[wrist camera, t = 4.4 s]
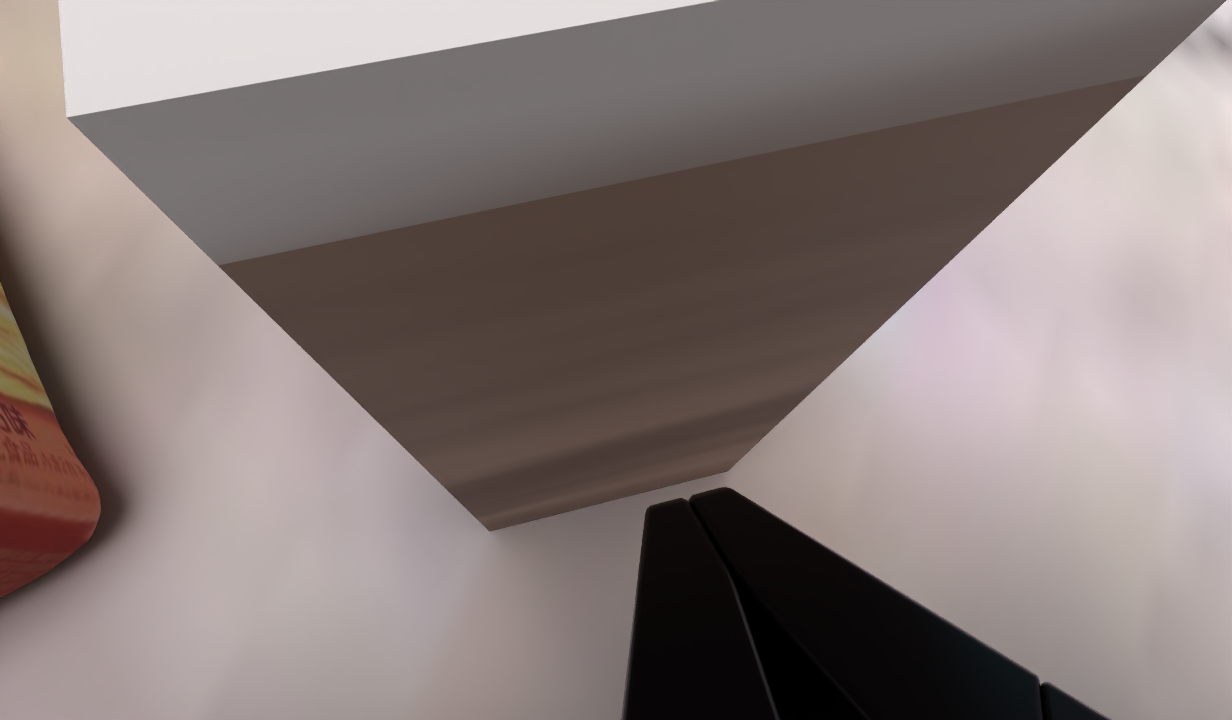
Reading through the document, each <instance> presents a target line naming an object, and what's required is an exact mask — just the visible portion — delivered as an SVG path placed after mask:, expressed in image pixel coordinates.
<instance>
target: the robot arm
mask: <svg viewBox="0 0 1232 720" xmlns="http://www.w3.org/2000/svg"><path fill="white" fill-rule="evenodd" d="M621 720H1111V719H1109V718H1107V717H1106V716H1104V715H1102V714H1100V713H1099V712H1097V711H1095V710H1094V709H1092V708H1090V707H1089V706H1087V705H1085V704H1084V703H1082V702H1081V701H1079V700H1077V699H1076V698H1074V697H1072V696H1071V695H1069V694H1067V693H1066V692H1064V691H1063V690H1061V689H1059V688H1058V687H1056V686H1054V685H1053V684H1051V683H1049V682H1044V683H1042V684H1041V686H1040V680H1039V677H1038V676H1037V675H1036V674H1034V673H1032V672H1031V671H1029V670H1027V669H1026V668H1024V667H1023V666H1021V665H1019V664H1018V663H1016V662H1014V661H1013V660H1011V659H1009V658H1008V657H1006V656H1005V655H1003V654H1001V653H1000V652H998V651H996V650H995V649H993V648H991V647H990V646H988V645H987V644H985V643H983V642H982V641H980V640H978V639H977V638H975V637H973V636H972V635H970V634H969V633H967V632H965V631H964V630H962V629H960V628H959V627H957V626H955V625H954V624H952V623H951V622H949V621H947V620H946V619H944V618H942V617H941V616H939V615H937V614H936V613H934V612H933V611H931V610H929V609H928V608H926V607H924V606H923V605H921V604H919V603H918V602H916V601H915V600H913V599H911V598H910V597H908V596H906V595H905V594H903V593H901V592H900V591H898V590H897V589H895V588H893V587H892V586H890V585H888V584H887V583H885V582H883V581H882V580H880V579H879V578H877V577H875V576H874V575H872V574H870V573H869V572H867V571H865V570H864V569H862V568H861V567H859V566H857V565H856V564H854V563H852V562H851V561H849V560H847V559H846V558H844V557H843V556H841V555H839V554H838V553H836V552H834V551H833V550H831V549H829V548H828V547H826V546H825V545H823V544H821V543H820V542H818V541H816V540H815V539H813V538H811V537H810V536H808V535H807V534H805V533H803V532H802V531H800V530H798V529H797V528H795V527H793V526H792V525H790V524H789V523H787V522H785V521H784V520H782V519H780V518H779V517H777V516H775V515H774V514H772V513H771V512H769V511H767V510H766V509H764V508H762V507H761V506H759V505H757V504H756V503H754V502H753V501H751V500H749V499H748V498H746V497H744V496H743V495H741V494H739V493H738V492H736V491H735V490H733V489H731V488H727V487H722V488H718V489H714V490H710V491H706V492H702V493H698V494H694V495H692V496H691V497H690V499H689V501H687V500H685V499H683V498H679V499H675V500H671V501H667V502H663V503H659V504H655V505H652V506H650V507H648V508H647V510H646V513H645V521H644V530H643V538H642V547H641V556H640V564H639V573H638V581H637V590H636V598H635V607H634V615H633V624H632V632H631V641H630V650H629V658H628V667H627V675H626V684H625V692H624V701H623V709H622V718H621Z"/></svg>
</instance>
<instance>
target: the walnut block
mask: <svg viewBox="0 0 1232 720" xmlns="http://www.w3.org/2000/svg"><path fill="white" fill-rule="evenodd" d="M1225 1H1226V0H58V2H59V16H60V31H61V45H62V60H63V74H64V89H65V103H66V117H67V118H68V119H69V120H70V121H71V122H72V123H73V124H74V125H75V126H76V127H77V128H78V129H79V130H80V131H81V132H82V133H83V134H84V135H85V136H86V137H87V138H88V139H89V140H90V141H91V142H92V143H93V144H94V145H95V146H96V147H97V148H98V149H99V150H100V151H101V152H102V153H103V154H104V155H105V156H106V157H107V158H109V159H110V160H111V161H112V162H113V163H114V164H115V165H116V166H117V167H118V168H119V169H120V170H121V171H122V172H123V173H124V174H125V175H126V176H127V177H128V178H129V179H130V180H131V181H132V182H133V183H134V184H135V185H136V186H137V187H138V188H139V189H140V190H141V191H142V192H143V193H144V194H145V195H146V196H147V197H148V198H149V199H150V200H151V201H152V202H153V203H155V204H156V205H157V206H158V207H159V208H160V209H161V210H162V211H163V212H164V213H165V214H166V215H167V216H168V217H169V218H170V219H171V220H172V221H173V222H174V223H175V224H176V225H177V226H178V227H179V228H180V229H181V230H182V231H183V232H184V233H185V234H186V235H187V236H188V237H189V238H190V239H191V240H192V241H193V242H194V243H195V244H196V245H197V246H198V247H199V248H200V249H202V250H203V251H204V252H205V253H206V254H207V255H208V256H209V257H210V258H211V259H212V260H213V261H214V262H215V263H216V264H217V265H218V266H219V267H220V268H221V269H222V270H223V271H224V272H225V273H226V274H227V275H228V276H229V277H230V278H231V279H232V280H233V281H234V282H235V283H236V284H237V285H238V286H239V287H240V288H241V289H242V290H243V291H244V292H245V293H246V294H247V295H249V296H250V297H251V298H252V299H253V300H254V301H255V302H256V303H257V304H258V305H259V306H260V307H261V308H262V309H263V310H264V311H265V312H266V313H267V314H268V315H269V316H270V317H271V318H272V319H273V320H274V321H275V322H276V323H277V324H278V325H279V326H280V327H281V328H282V329H283V330H284V331H285V332H286V333H287V334H288V335H289V336H290V337H291V338H292V339H293V340H294V341H296V342H297V343H298V344H299V345H300V346H301V347H302V348H303V349H304V350H305V351H306V352H307V353H308V354H309V355H310V356H311V357H312V358H313V359H314V360H315V361H316V362H317V363H318V364H319V365H320V366H321V367H322V368H323V369H324V370H325V371H326V372H327V373H328V374H329V375H330V376H331V377H332V378H333V379H334V380H335V381H336V382H337V383H338V384H339V385H340V386H342V387H343V388H344V389H345V390H346V391H347V392H348V393H349V394H350V395H351V396H352V397H353V398H354V399H355V400H356V401H357V402H358V403H359V404H360V405H361V406H362V407H363V408H364V409H365V410H366V411H367V412H368V413H369V414H370V415H371V416H372V417H373V418H374V419H375V420H376V421H377V422H378V423H379V424H380V425H381V426H382V427H383V428H384V429H385V430H386V431H387V432H389V433H390V434H391V435H392V436H393V437H394V438H395V439H396V440H397V441H398V442H399V443H400V444H401V445H402V446H403V447H404V448H405V449H406V450H407V451H408V452H409V453H410V454H411V455H412V456H413V457H414V458H415V459H416V460H417V461H418V462H419V463H420V464H421V465H422V466H423V467H424V468H425V469H426V470H427V471H428V472H429V473H430V474H431V475H432V476H433V477H434V478H436V479H437V480H438V481H439V482H440V483H441V484H442V485H443V486H444V487H445V488H446V489H447V490H448V491H449V492H450V493H451V494H452V495H453V496H454V497H455V498H456V499H457V500H458V501H459V502H460V503H461V504H462V505H463V506H464V507H465V508H466V509H467V510H468V511H469V512H470V513H471V514H472V515H473V516H474V517H475V518H476V519H477V520H478V521H479V522H480V523H481V524H483V525H484V526H485V527H486V528H487V529H488V530H489V531H493V530H497V529H501V528H505V527H509V526H513V525H516V524H520V523H524V522H528V521H532V520H536V519H540V518H544V517H548V516H552V515H556V514H560V513H564V512H568V511H572V510H576V509H580V508H583V507H587V506H591V505H595V504H599V503H603V502H607V501H611V500H615V499H619V498H623V497H627V496H631V495H635V494H639V493H643V492H646V491H650V490H654V489H658V488H662V487H666V486H670V485H674V484H678V483H682V482H686V481H690V480H694V479H698V478H702V477H706V476H710V475H713V474H717V473H721V472H725V471H728V470H729V469H730V468H732V467H733V466H734V465H735V464H736V463H737V462H738V461H739V460H740V459H741V458H742V457H743V456H744V455H745V454H746V453H747V452H748V451H750V450H751V449H752V448H753V447H754V446H755V445H756V444H757V443H758V442H759V441H760V440H761V439H762V438H763V437H764V436H765V435H766V434H768V433H769V432H770V431H771V430H772V429H773V428H774V427H775V426H776V425H777V424H778V423H779V422H780V421H781V420H782V419H783V418H784V417H786V416H787V415H788V414H789V413H790V412H791V411H792V410H793V409H794V408H795V407H796V406H797V405H798V404H799V403H800V402H801V401H802V400H804V399H805V398H806V397H807V396H808V395H809V394H810V393H811V392H812V391H813V390H814V389H815V388H816V387H817V386H818V385H819V384H820V383H822V382H823V381H824V380H825V379H826V378H827V377H828V376H829V375H830V374H831V373H832V372H833V371H834V370H835V369H836V368H837V367H838V366H840V365H841V364H842V363H843V362H844V361H845V360H846V359H847V358H848V357H849V356H850V355H851V354H852V353H853V352H854V351H855V350H856V349H858V348H859V347H860V346H861V345H862V344H863V343H864V342H865V341H866V340H867V339H868V338H869V337H870V336H871V335H872V334H873V333H874V332H876V331H877V330H878V329H879V328H880V327H881V326H882V325H883V324H884V323H885V322H886V321H887V320H888V319H889V318H890V317H891V316H892V315H894V314H895V313H896V312H897V311H898V310H899V309H900V308H901V307H902V306H903V305H904V304H905V303H906V302H907V301H908V300H909V299H910V298H912V297H913V296H914V295H915V294H916V293H917V292H918V291H919V290H920V289H921V288H922V287H923V286H924V285H925V284H926V283H927V282H928V281H930V280H931V279H932V278H933V277H934V276H935V275H936V274H937V273H938V272H939V271H940V270H941V269H942V268H943V267H944V266H945V265H946V264H948V263H949V262H950V261H951V260H952V259H953V258H954V257H955V256H956V255H957V254H958V253H959V252H960V251H961V250H962V249H963V248H964V247H966V246H967V245H968V244H969V243H970V242H971V241H972V240H973V239H974V238H975V237H976V236H977V235H978V234H979V233H980V232H981V231H982V230H984V229H985V228H986V227H987V226H988V225H989V224H990V223H991V222H992V221H993V220H994V219H995V218H996V217H997V216H998V215H999V214H1000V213H1002V212H1003V211H1004V210H1005V209H1006V208H1007V207H1008V206H1009V205H1010V204H1011V203H1012V202H1013V201H1014V200H1015V199H1016V198H1017V197H1018V196H1020V195H1021V194H1022V193H1023V192H1024V191H1025V190H1026V189H1027V188H1028V187H1029V186H1030V185H1031V184H1032V183H1033V182H1034V181H1035V180H1036V179H1038V178H1039V177H1040V176H1041V175H1042V174H1043V173H1044V172H1045V171H1046V170H1047V169H1048V168H1049V167H1050V166H1051V165H1052V164H1053V163H1054V162H1056V161H1057V160H1058V159H1059V158H1060V157H1061V156H1062V155H1063V154H1064V153H1065V152H1066V151H1067V150H1068V149H1069V148H1070V147H1071V146H1072V145H1074V144H1075V143H1076V142H1077V141H1078V140H1079V139H1080V138H1081V137H1082V136H1083V135H1084V134H1085V133H1086V132H1087V131H1088V130H1089V129H1090V128H1092V127H1093V126H1094V125H1095V124H1096V123H1097V122H1098V121H1099V120H1100V119H1101V118H1102V117H1103V116H1104V115H1105V114H1106V113H1107V112H1108V111H1110V110H1111V109H1112V108H1113V107H1114V106H1115V105H1116V104H1117V103H1118V102H1119V101H1120V100H1121V99H1122V98H1123V97H1124V96H1125V95H1126V94H1128V93H1129V92H1130V91H1131V90H1132V89H1133V88H1134V87H1135V86H1136V85H1137V84H1138V83H1139V82H1140V81H1141V80H1142V79H1143V78H1144V77H1146V76H1147V75H1148V74H1149V73H1150V72H1151V71H1152V70H1153V69H1154V68H1155V67H1156V66H1157V65H1158V64H1159V63H1160V62H1161V61H1162V60H1164V59H1165V58H1166V57H1167V56H1168V55H1169V54H1170V53H1171V52H1172V51H1173V50H1174V49H1175V48H1176V47H1177V46H1178V45H1179V44H1181V43H1182V42H1183V41H1184V40H1185V39H1186V38H1187V37H1188V36H1189V35H1190V34H1191V33H1192V32H1193V31H1194V30H1195V29H1196V28H1197V27H1199V26H1200V25H1201V24H1202V23H1203V22H1204V21H1205V20H1206V19H1207V18H1208V17H1209V16H1210V15H1211V14H1212V13H1213V12H1214V11H1215V10H1217V9H1218V8H1219V7H1220V6H1221V5H1222V4H1223V3H1224V2H1225Z"/></svg>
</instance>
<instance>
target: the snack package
mask: <svg viewBox="0 0 1232 720" xmlns="http://www.w3.org/2000/svg"><path fill="white" fill-rule="evenodd" d="M100 513H101V504H100V496H99V493H98V490H97V488H96V486H95V484H94V482H93V480H92V478H91V477H90V475H89V474H88V472H87V471H86V469H85V468H84V467H83V465H82V464H81V462H80V461H79V459H78V458H77V456H76V455H75V453H74V451H73V449H72V448H71V446H70V444H69V443H68V441H67V439H66V437H65V436H64V434H63V432H62V430H61V429H60V426H59V424H58V421H57V418H56V416H55V413H54V411H53V408H52V405H51V403H50V401H49V399H48V396H47V394H46V392H45V390H44V387H43V385H42V383H41V381H40V379H39V376H38V374H37V372H36V370H35V367H34V365H33V363H32V361H31V358H30V355H29V352H28V350H27V347H26V344H25V342H24V339H23V337H22V335H21V332H20V330H19V328H18V325H17V323H16V321H15V318H14V316H13V314H12V311H11V309H10V307H9V304H8V301H7V299H6V296H5V293H4V290H3V287H2V285H1V282H0V598H2V597H4V596H6V595H8V594H10V593H12V592H14V591H16V590H17V589H19V588H21V587H23V586H25V585H27V584H28V583H30V582H32V581H33V580H35V579H37V578H39V577H40V576H42V575H44V574H45V573H47V572H48V571H50V570H51V569H53V568H54V567H56V566H57V565H58V564H60V563H61V562H62V561H63V560H65V559H66V558H67V557H68V556H70V555H71V554H72V553H74V552H75V551H76V550H77V549H79V548H80V547H81V546H82V545H84V544H85V543H86V542H87V541H88V540H89V539H90V538H91V536H92V534H93V532H94V530H95V528H96V525H97V522H98V519H99V516H100Z"/></svg>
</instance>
